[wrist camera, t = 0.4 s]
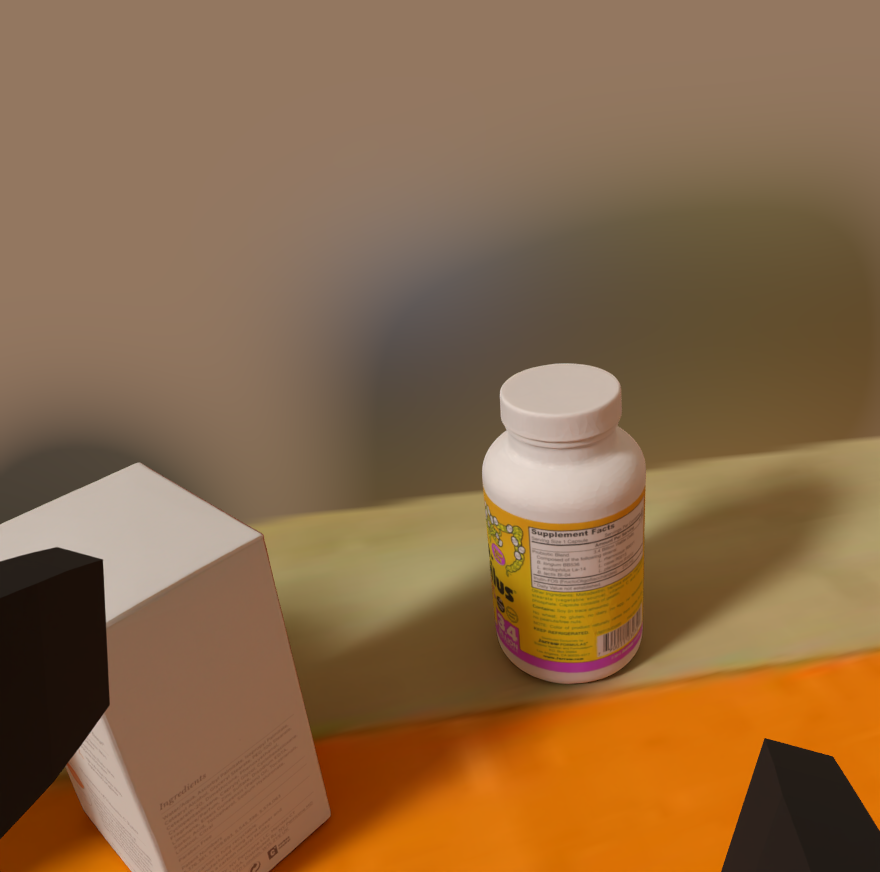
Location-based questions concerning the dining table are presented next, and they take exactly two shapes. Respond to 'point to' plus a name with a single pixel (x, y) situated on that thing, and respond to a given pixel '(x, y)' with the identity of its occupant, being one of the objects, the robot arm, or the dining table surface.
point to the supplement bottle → (565, 525)
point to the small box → (185, 681)
